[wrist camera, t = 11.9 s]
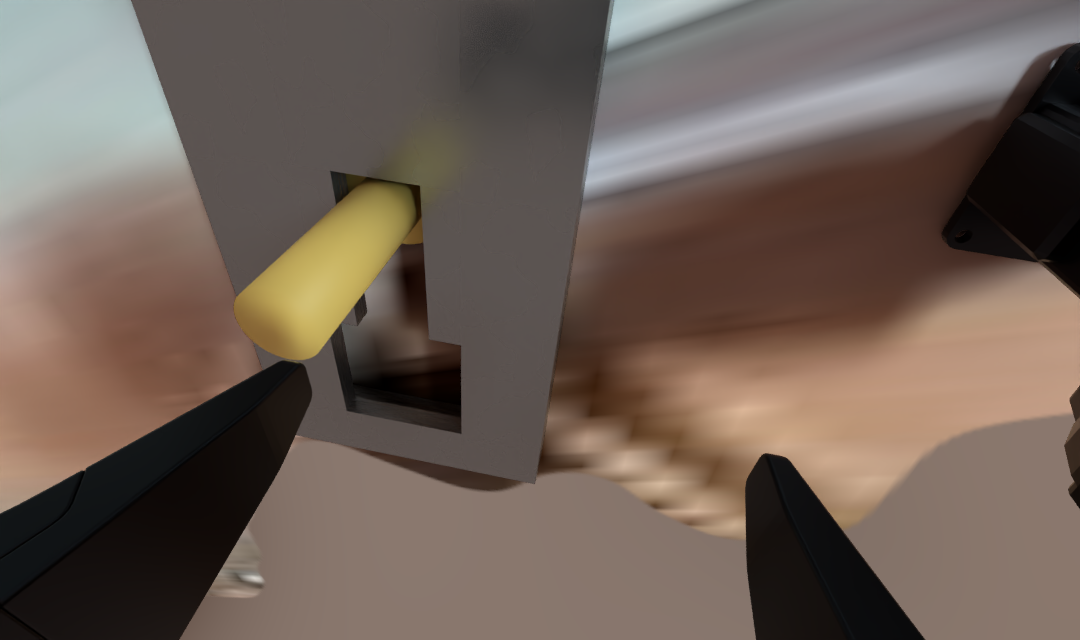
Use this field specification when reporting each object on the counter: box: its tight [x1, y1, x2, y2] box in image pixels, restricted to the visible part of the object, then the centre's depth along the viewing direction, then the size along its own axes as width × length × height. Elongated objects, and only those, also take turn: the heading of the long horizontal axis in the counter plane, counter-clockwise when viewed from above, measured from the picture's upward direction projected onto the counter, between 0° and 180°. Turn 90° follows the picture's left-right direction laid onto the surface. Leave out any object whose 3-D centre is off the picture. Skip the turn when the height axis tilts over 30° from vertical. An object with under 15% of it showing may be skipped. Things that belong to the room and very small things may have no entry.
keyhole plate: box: [131, 0, 614, 484], centre depth 22 cm, size 14×22×3 cm, turn 175°
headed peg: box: [234, 174, 423, 360], centre depth 17 cm, size 4×4×9 cm
